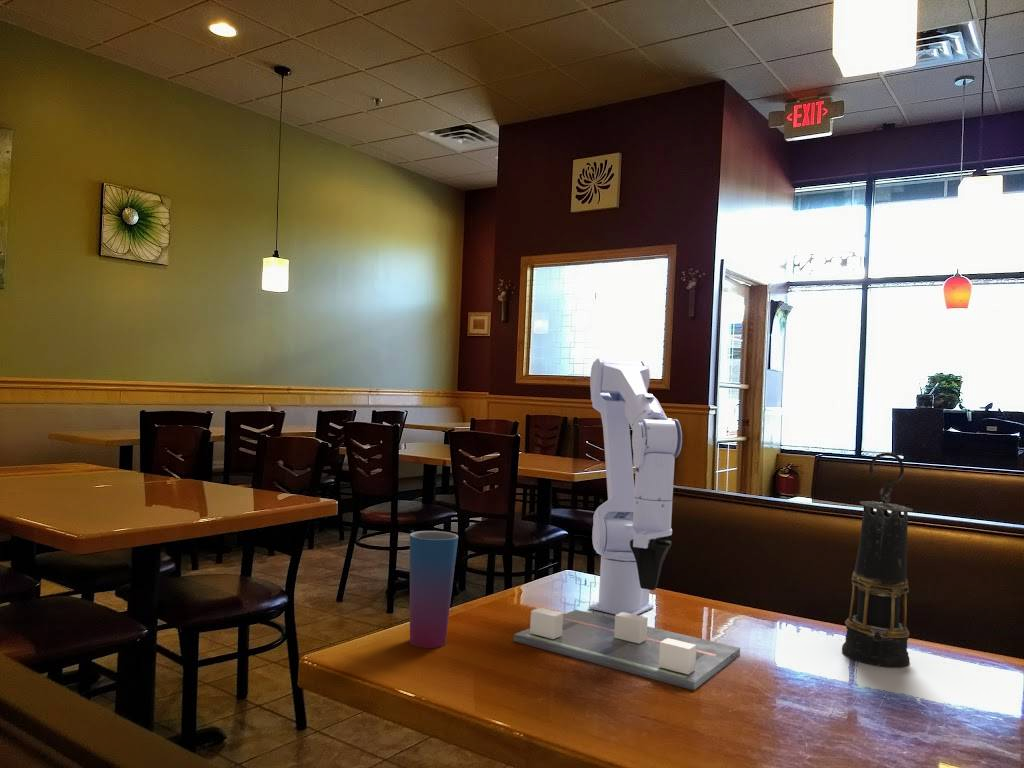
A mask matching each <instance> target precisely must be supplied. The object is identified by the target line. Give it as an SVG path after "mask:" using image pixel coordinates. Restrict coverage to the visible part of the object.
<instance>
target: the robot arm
mask: <svg viewBox="0 0 1024 768" xmlns="http://www.w3.org/2000/svg"><path fill="white" fill-rule="evenodd" d="M590 369H591V370H590V379H589V384H590V385H589V386H590V387H589V388H590V400H591V402H592V404H591V405H592V409H594V410H596V411H597V412H599V413H600V417H601V422H602V430H603V443H604V445H603V446H604V460H605V476H606V489H607V491H606V492H607V500H606V501H604V502H603V503H602V504H600V505H598V507H597V508H596V510H595V511H594V514H593V518H592V520H593V522H592V523H593V525H592V532H591V533H592V535H591V539H592V546H593V550H594V551H595V552H596V553H597V554H598V555H600V570H599V586H598V587H599V589H598V601H597V602H594V603H591V604H589V605H588V609H591V610H594V611H595V610H596V611H598V612H599V611H600V612H603V613H604V612H605V613H607V614H608V613H609V614H612V615H617V614H619V613H621V612H625V613H629V614H634V615H638V616H639V615H640V614H642V613H644V612H646V611H649V610H650V609H652V608H654V604H653V603H650V591H655V590H656V589H657V586H658V583H659V580H660V575H661V572H662V568H663V567H662V566H663V565H664V564H663V563H664V561H665V558H666V556H667V554H668V552H669V550H670V548H672V547H671V546H672V545H673V544H672V543H673V542H672V541H671V540H667V539H661V538H665V537H669V536H672V534H673V529H672V514H673V495H674V479H675V478H674V476H675V460H676V459H677V457H678V456H679V455H680V453H681V450H682V446H683V445H682V444H683V431H682V427H681V423H680V421H679V420H678V419H676V418H669V417H668V416H667V415H666V413H665V411H664V409H663V408H662V406H661V404H660V401H659V400H658V399H657V398H656V397H655V396H654V395H653V393H648V389H649V387H650V377H651V375H650V373H651V371H650V368H649V365H648V364H647V363H646V362H645V361H643V360H642V361H628V360H626V361H625V360H611V359H601V358H596V359H595V360H594V361H593V362H592V365H591V368H590ZM630 428H631V430H632V435H631V430H630ZM632 453H633V454H632ZM675 458H676V459H675ZM634 467H635V475H634ZM634 478H635V479H634Z"/></svg>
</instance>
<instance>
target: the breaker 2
mask: <svg viewBox="0 0 1024 768" xmlns="http://www.w3.org/2000/svg"><path fill="white" fill-rule="evenodd" d="M695 664H696V645H695V644H691V643H687V642H682V641H678V640H674V639H670V638H667V639H665V640H663V641H661V642H660V655H659V667H661V668H665V669H669V670H673V671H676V672H680V673H684V674H688V675H689V674H690V673H691V672H693V671H694V670H695Z"/></svg>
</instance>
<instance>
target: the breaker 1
mask: <svg viewBox="0 0 1024 768" xmlns="http://www.w3.org/2000/svg"><path fill="white" fill-rule="evenodd" d="M563 615H564V612H562V611H561V612H559V611H555V610H552V609H548V608H543V607H537V608H534V609H532V610H530V619H529V621H530V623H529V624H530V625H529V628H530V633H532V634H535V635H539V636H543V637H547V638H551V639H555V638H557V637H560V636H562V627H563Z"/></svg>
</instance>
